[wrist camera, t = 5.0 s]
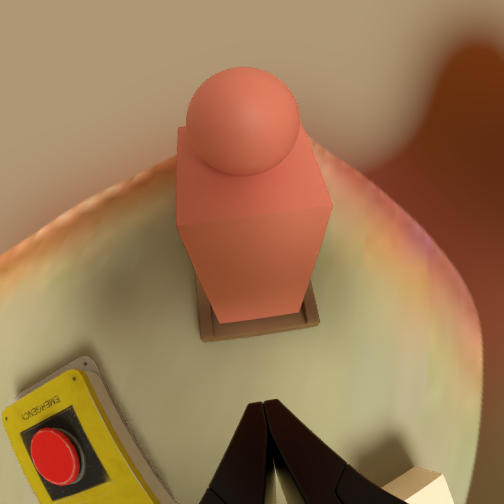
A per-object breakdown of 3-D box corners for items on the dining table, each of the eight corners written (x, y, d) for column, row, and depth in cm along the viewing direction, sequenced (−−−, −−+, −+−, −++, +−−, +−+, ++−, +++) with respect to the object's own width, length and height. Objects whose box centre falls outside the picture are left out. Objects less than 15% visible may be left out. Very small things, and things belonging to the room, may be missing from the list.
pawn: (298, 312, 19) (356, 117, 7) (219, 324, 19) (142, 141, 6) (284, 244, 22) (302, 39, 9) (212, 254, 22) (160, 54, 9)
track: (317, 325, 20) (322, 317, 19) (203, 342, 20) (198, 336, 18) (280, 172, 27) (280, 158, 25) (193, 184, 26) (189, 170, 25)
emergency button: (61, 337, 16) (188, 554, 10) (93, 352, 20) (202, 529, 14) (-19, 390, 14) (77, 578, 8) (16, 398, 18) (104, 560, 12)
